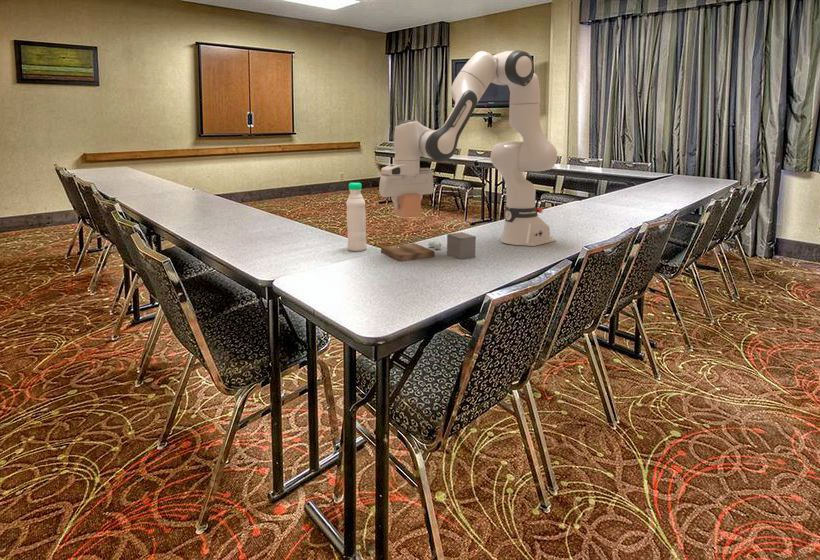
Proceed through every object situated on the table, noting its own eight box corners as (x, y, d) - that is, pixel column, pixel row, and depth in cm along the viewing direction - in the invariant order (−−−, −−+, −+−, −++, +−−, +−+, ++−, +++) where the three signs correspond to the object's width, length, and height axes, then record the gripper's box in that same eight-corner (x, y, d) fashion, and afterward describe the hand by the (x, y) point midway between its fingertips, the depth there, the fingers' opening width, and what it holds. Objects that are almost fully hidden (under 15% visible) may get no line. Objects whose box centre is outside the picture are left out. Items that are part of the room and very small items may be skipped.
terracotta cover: (409, 212, 190) (409, 192, 188) (420, 216, 182) (420, 194, 180) (393, 214, 187) (393, 193, 185) (404, 217, 179) (404, 195, 177)
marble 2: (436, 251, 198) (438, 244, 198) (441, 250, 195) (444, 243, 196) (431, 247, 196) (433, 240, 197) (436, 246, 194) (438, 239, 194)
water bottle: (363, 252, 192) (361, 184, 185) (345, 251, 194) (342, 183, 187) (368, 248, 199) (367, 182, 192) (351, 247, 200) (348, 181, 193)
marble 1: (432, 249, 201) (434, 242, 201) (436, 247, 198) (438, 240, 199) (426, 246, 199) (427, 239, 200) (430, 244, 197) (432, 237, 198)
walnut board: (414, 248, 198) (414, 243, 198) (434, 256, 186) (434, 251, 185) (381, 252, 192) (381, 247, 191) (399, 261, 179) (399, 255, 179)
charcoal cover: (461, 252, 192) (462, 232, 190) (475, 257, 184) (475, 236, 182) (447, 254, 189) (447, 233, 187) (460, 259, 182) (460, 238, 179)
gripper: (428, 166, 187) (427, 205, 191) (376, 169, 178) (377, 209, 182) (437, 168, 182) (436, 207, 186) (384, 170, 173) (385, 211, 177)
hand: (407, 208), depth 184 cm, fingers closed on terracotta cover, 6 cm apart
